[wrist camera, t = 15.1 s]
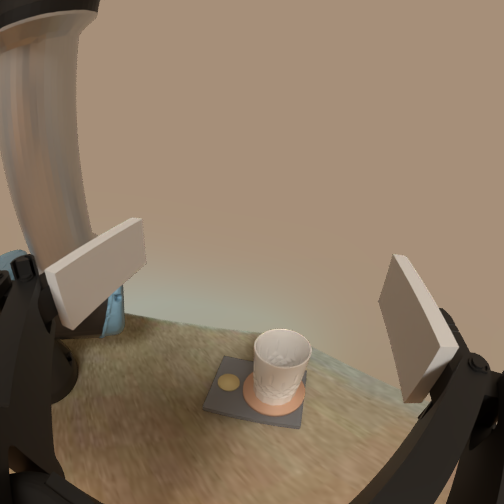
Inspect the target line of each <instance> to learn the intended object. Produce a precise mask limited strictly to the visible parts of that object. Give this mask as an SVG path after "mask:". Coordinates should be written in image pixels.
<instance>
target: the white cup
mask: <svg viewBox="0 0 504 504" xmlns="http://www.w3.org/2000/svg"><path fill="white" fill-rule="evenodd" d="M311 353H312V348H311V345H310V343H309V342H308V340H307V339H306V338H305V337H304V336H303V335H301V334H299V333H297V332H295V331H292V330H288V329H271V330H268V331H265V332H263V333H262V334H260V335H259V336H258V337H257V338H256V340H255V343H254V361H253V380H254V385H253V390H254V393H255V395H256V397H257V398H258V399H259V400H260V401H262V402H263V403H265V404H269V405H272V406H275V405H283V404H285V403H288V402H290V401H291V399H292V398H293V397H294V395H295V393H296V391H297V389H298V387H299V385H300V382H301V380H302V378H303V375H304V373H305V370H306V367H307V365H308V362H309V359H310V356H311Z"/></svg>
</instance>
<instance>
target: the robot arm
mask: <svg viewBox="0 0 504 504" xmlns="http://www.w3.org/2000/svg"><path fill="white" fill-rule="evenodd" d="M99 2H100V0H0V150H1V156H2V161H3V165H4V170H5V174H6V179H7V183H8V187H9V191H10V195H11V198H12V202H13V205H14V208H15V211H16V215H17V218H18V221H19V224H20V226H21V229H22V232H23V235H24V238H25V240H26V243H27V245H28V248H29V250H30V253H31V254H27V253H26V252H25V251H22V250H14V251H11V252H8V253H5V254H3V255H1V256H0V504H103V503H101V502H99V501H98V500H96V499H94V498H93V497H91V496H89V495H88V494H86V493H85V492H83V491H81V490H80V489H78V488H77V487H75V486H74V485H72V484H71V483H69V482H68V481H67V480H65V476H64V472H63V470H62V467H61V466H60V464H59V462H58V460H57V459H56V456H55V453H54V445H53V433H52V416H51V404H53V403H56V402H58V401H59V400H61V399H62V398H64V397H65V396H66V395H67V394H68V393H69V392H70V391H71V389H72V388H73V386H74V385H75V382H76V380H77V375H78V367H77V363H76V361H75V359H74V357H73V354H72V353H71V351H70V350H69V348H68V347H67V346H66V345H65V344H64V343H63V342H62V341H61V340H60V339H79V338H97V337H99V338H103V337H104V336H111V335H117V334H119V333H121V332H122V331H123V329H124V326H125V315H124V296H123V284H124V283H125V282H126V281H127V280H128V279H129V278H130V277H132V276H133V275H134V274H135V273H136V272H137V271H138V270H140V269H141V268H142V267H143V266H144V265H146V254H145V244H144V233H143V221H142V219H139V218H130V219H128V220H126V221H124V222H123V223H121V224H119V225H117V226H116V227H114V228H112V229H110V230H108V231H106V232H105V233H103V234H101V235H99V236H98V235H96V234H94V233H92V230H91V225H90V221H89V216H88V211H87V205H86V200H85V194H84V187H83V181H82V173H81V166H80V157H79V147H78V134H77V117H76V69H77V52H78V41H79V35H80V34H81V32H82V31H83V30H84V29H85V28H86V27H87V26H88V25H89V24H90V23H91V22H92V21H93V20H94V19H96V17H97V12H98V6H99ZM378 302H379V305H380V309H381V311H382V315H383V319H384V322H385V325H386V329H387V332H388V336H389V339H390V344H391V348H392V352H393V355H394V360H395V364H396V368H397V372H398V377H399V381H400V386H401V391H402V396H403V401H404V403H422V401H423V400H424V399H425V397H426V396H427V395H428V393H429V392H430V396H431V400H432V401H431V402H430V403H429V404H428V406H427V407H426V408H425V409H424V411H423V412H422V413H421V414H420V415H419V416H418V419H419V420H418V421H417V423H416V424H415V426H414V427H413V429H412V430H411V432H410V433H409V435H408V436H407V437H406V439H405V440H404V441H403V443H402V444H401V446H400V447H399V448H398V450H397V451H396V452H395V453H394V455H393V456H392V457H391V458H390V460H389V461H388V462H387V463H386V465H385V466H384V467H383V468H382V469H381V470H380V472H379V473H378V474H377V475H376V476H375V477H374V478H373V480H372V481H371V482H370V483H369V484H368V485H367V486H366V487H365V488H364V489H363V490H362V491H361V492H360V493H359V494H358V495H357V496H356V497H355V498H354V499H353V500H352V501H351V502H350V503H349V504H434V503H435V501H436V500H437V498H438V496H439V495H440V493H441V492H442V490H443V488H444V487H445V485H446V483H447V481H448V480H449V478H450V476H451V474H452V472H453V470H454V468H455V466H456V465H457V463H458V461H459V463H458V467H457V471H456V474H455V478H454V481H453V484H452V488H451V491H450V494H449V497H448V500H447V502H446V504H504V371H503V372H502V374H501V373H497V372H494V371H490V367H489V364H488V363H487V361H486V360H485V359H484V358H483V357H481V356H480V355H478V354H476V353H470V351H469V349H468V348H467V345H466V344H465V342H464V340H463V338H462V336H461V334H460V333H459V332H458V331H459V330H458V328H457V327H456V326H455V323H454V322H453V319H452V318H451V316H450V315H449V314H448V313H447V312H446V311H445V310H444V309H443V308H438V306H437V305H436V303H435V301H434V299H433V298H432V296H431V294H430V293H429V291H428V289H427V288H426V286H425V284H424V283H423V281H422V279H421V278H420V276H419V275H418V273H417V272H416V270H415V269H414V267H413V265H412V264H411V262H410V261H409V259H408V258H407V256H403V255H397V254H393V256H392V259H391V262H390V266H389V270H388V273H387V276H386V279H385V282H384V286H383V289H382V292H381V295H380V298H379V301H378ZM497 421H498V422H497ZM496 422H497V425H496ZM459 458H460V459H459ZM9 468H10V469H12V470H13V471H14V472H16V473H13V474H9Z"/></svg>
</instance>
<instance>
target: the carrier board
mask: <svg viewBox="0 0 504 504" xmlns="http://www.w3.org/2000/svg"><path fill="white" fill-rule="evenodd" d="M306 373H307V370H305V373H304V375H303V378H302V380H301V382H300V385H299V387H298V389H297V391H296V393H295V395H294V397H293V398H292V399H291V401H290V402H288V403H285V404H283V405H275V406H272V405H269V404H265V403H263V402H262V401H260V400H259V399H258V398H257V397H256V395H255V393H254V390H253V385H254V380H253V362H252V361H247V360H242V359H238V358H233V357H228V356H224V357H223V360H222V362H221V365H220V367H219V369H218V372H217V374H216V376H215V379H214V381H213V383H212V386H211V388H210V390H209V393H208V395H207V397H206V400H205V402H204V404H203V410H205V411H209V412H212V413H216V414H220V415H224V416H228V417H233V418H237V419H242V420H246V421H251V422H257V423H262V424H268V425H273V426H280V427H287V428H294V429H300V426H301V419H302V411H303V402H304V397H305V384H306Z"/></svg>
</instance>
